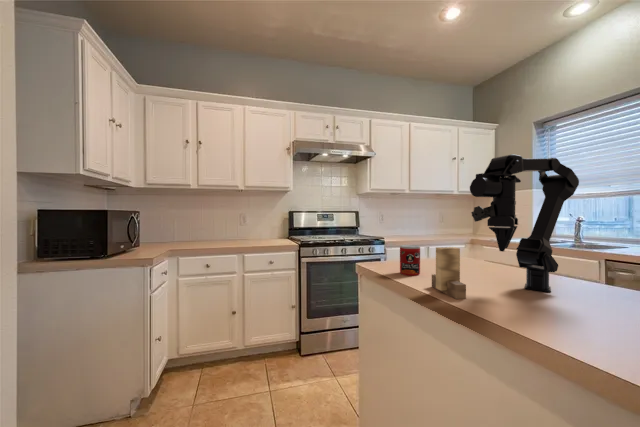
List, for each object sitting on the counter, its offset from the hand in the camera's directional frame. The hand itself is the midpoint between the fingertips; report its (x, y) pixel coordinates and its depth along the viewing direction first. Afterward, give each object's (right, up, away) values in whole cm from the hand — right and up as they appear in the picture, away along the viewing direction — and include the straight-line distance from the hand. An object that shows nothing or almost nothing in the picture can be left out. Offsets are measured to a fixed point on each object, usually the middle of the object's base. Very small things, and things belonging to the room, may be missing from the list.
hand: (503, 249), depth 86 cm
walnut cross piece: (-16, -13, +1) cm, 21 cm away
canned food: (-20, -13, +27) cm, 36 cm away
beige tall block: (-16, -12, +1) cm, 20 cm away
